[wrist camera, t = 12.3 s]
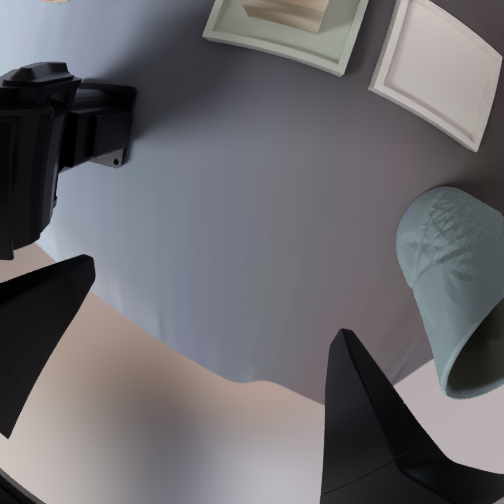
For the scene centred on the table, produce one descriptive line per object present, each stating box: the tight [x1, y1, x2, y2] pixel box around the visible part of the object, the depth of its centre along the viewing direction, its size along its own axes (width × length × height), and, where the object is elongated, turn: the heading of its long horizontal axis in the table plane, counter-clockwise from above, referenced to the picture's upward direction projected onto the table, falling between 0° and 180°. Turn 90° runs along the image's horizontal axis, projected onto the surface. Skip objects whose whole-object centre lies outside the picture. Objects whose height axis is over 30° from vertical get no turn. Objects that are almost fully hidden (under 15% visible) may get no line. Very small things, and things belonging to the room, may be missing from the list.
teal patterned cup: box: [396, 186, 504, 400], centre depth 14 cm, size 10×10×12 cm
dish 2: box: [368, 0, 502, 152], centre depth 12 cm, size 9×9×1 cm
